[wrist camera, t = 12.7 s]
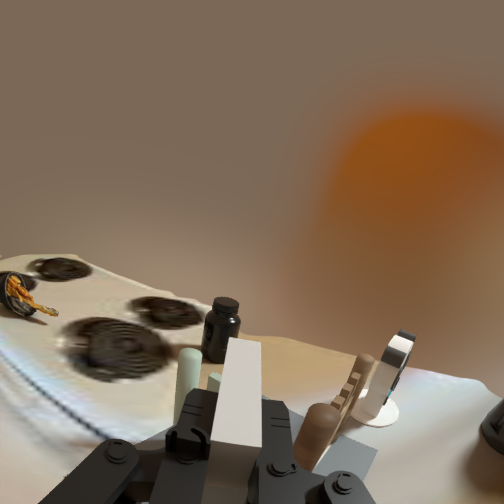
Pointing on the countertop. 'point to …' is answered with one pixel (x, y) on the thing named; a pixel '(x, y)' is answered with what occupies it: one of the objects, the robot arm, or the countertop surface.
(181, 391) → the fence panel
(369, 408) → the panda figurine
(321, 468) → the card
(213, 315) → the supplement bottle
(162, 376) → the countertop surface
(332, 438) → the fence fixed
